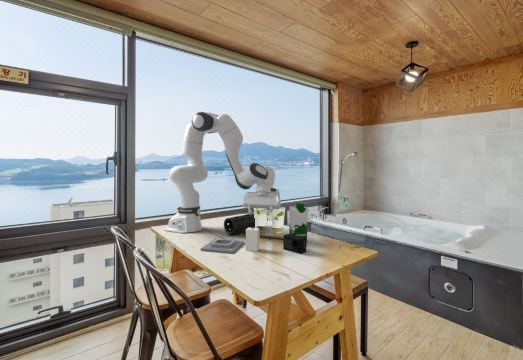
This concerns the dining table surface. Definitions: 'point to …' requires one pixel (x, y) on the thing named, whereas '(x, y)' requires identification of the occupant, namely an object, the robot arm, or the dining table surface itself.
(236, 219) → the muzzle brake
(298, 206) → the milk carton
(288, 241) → the digital camera
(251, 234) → the charger brick
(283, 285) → the dining table surface
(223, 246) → the socket plate
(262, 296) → the dining table surface
